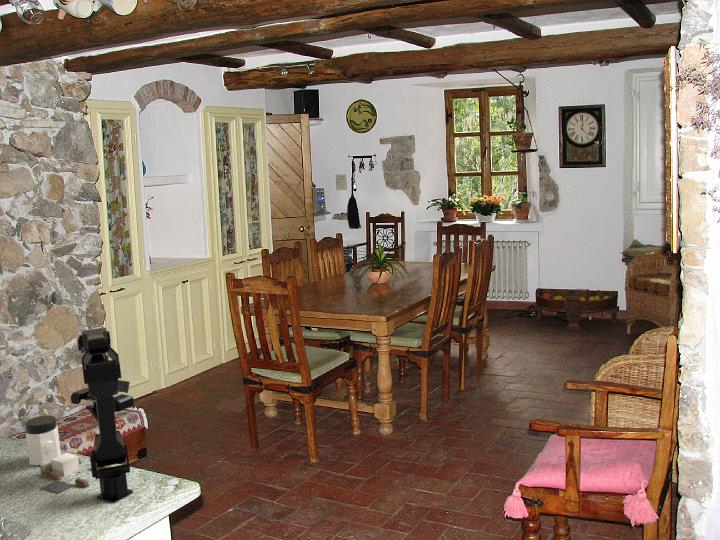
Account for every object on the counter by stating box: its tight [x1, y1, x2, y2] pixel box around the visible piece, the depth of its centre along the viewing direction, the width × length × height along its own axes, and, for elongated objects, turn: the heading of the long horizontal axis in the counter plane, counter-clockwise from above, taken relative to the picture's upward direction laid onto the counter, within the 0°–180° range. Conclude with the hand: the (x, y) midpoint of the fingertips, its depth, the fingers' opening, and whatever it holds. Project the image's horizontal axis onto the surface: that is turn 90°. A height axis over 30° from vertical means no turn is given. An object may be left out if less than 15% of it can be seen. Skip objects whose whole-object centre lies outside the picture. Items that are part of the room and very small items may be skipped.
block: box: [51, 452, 81, 477], centre depth 207 cm, size 5×5×4 cm
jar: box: [24, 415, 62, 467], centre depth 215 cm, size 9×8×12 cm
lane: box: [40, 452, 113, 488], centre depth 205 cm, size 18×10×2 cm, turn 60°
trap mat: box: [39, 479, 75, 495], centre depth 198 cm, size 7×5×1 cm
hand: (105, 429), depth 204 cm, fingers closed
